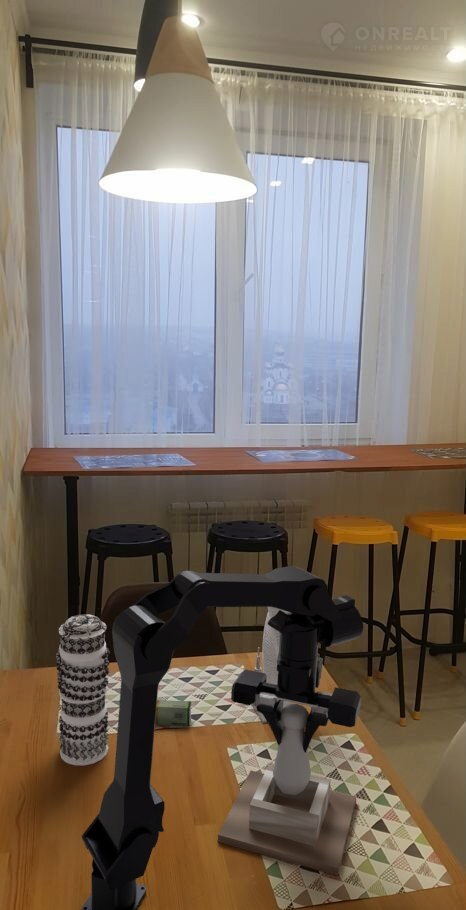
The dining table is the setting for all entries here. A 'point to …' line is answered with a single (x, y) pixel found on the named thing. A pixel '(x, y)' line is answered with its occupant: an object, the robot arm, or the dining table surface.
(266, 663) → the skyscraper
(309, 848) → the socket board
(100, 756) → the decorative candle
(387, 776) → the dining table surface
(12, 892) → the dining table surface
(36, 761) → the dining table surface
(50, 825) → the dining table surface
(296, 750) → the salt shaker
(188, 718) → the medication box
